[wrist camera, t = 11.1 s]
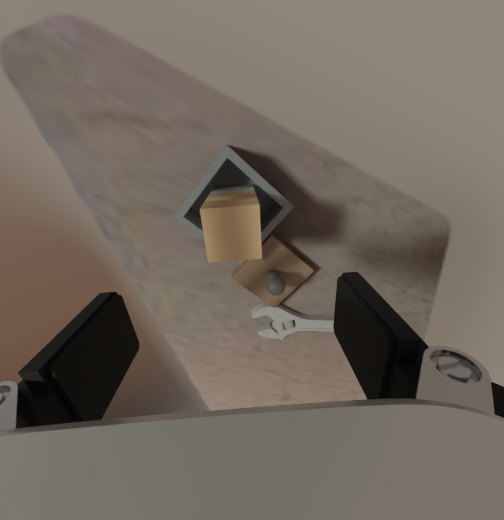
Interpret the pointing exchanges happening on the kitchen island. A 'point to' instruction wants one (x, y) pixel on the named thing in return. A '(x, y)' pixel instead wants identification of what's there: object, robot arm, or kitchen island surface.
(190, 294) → the kitchen island surface
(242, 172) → the bin
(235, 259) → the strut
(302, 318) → the adjustable wrench
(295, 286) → the stud plate
